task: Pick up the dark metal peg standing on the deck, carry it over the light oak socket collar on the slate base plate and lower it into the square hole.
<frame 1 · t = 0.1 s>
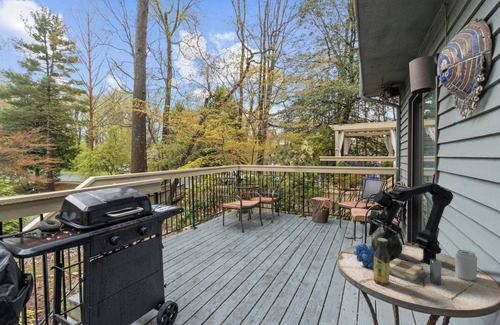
hand: (375, 238, 125), 15 cm above the table, tool tilted 35°, fingers open, 9 cm apart
can: (465, 278, 114), on the table
sauce bottle: (381, 283, 111), on the table
grapes: (365, 267, 126), on the table
squash: (386, 255, 140), on the table
socket: (403, 274, 119), on the table
peg: (435, 282, 110), on the table
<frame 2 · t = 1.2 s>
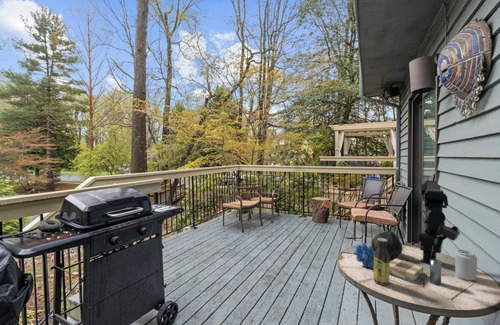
hand: (434, 253, 110), 13 cm above the table, tool pointing down, fingers open, 9 cm apart
nothing on the table moved.
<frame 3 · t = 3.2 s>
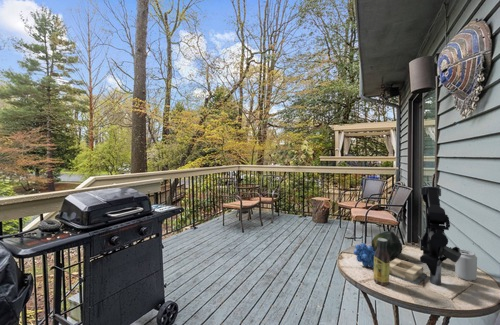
hand: (435, 274, 110), 4 cm above the table, tool pointing down, fingers closed on peg, 4 cm apart
peg: (435, 282, 110), on the table, touching gripper
everything else where it was.
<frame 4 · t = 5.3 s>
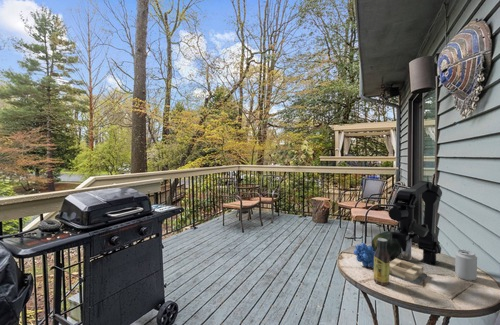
hand: (406, 249, 117), 12 cm above the table, tool pointing down, fingers closed on peg, 4 cm apart
peg: (406, 258, 118), point 8 cm above the table, touching gripper
everything else where it was.
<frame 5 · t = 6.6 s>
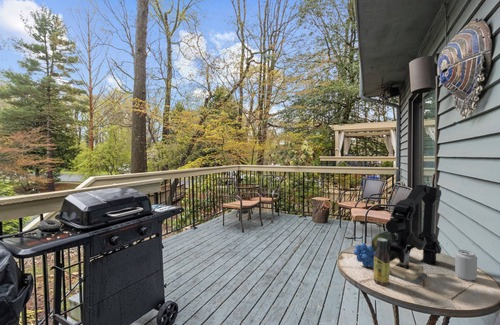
hand: (404, 261, 118), 6 cm above the table, tool pointing down, fingers closed on peg, 4 cm apart
peg: (404, 270, 119), point 2 cm above the table, touching gripper
everything else where it was.
when the fingers open (6 cm above the table, at t = 7.5 s): peg stays where it is, resting on socket.
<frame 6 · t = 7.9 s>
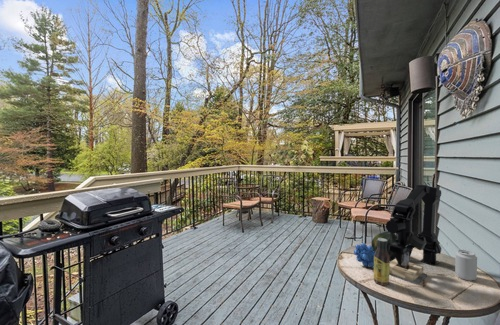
hand: (404, 261, 118), 6 cm above the table, tool pointing down, fingers open, 9 cm apart
peg: (404, 271, 119), point 1 cm above the table, touching socket
everything else where it was.
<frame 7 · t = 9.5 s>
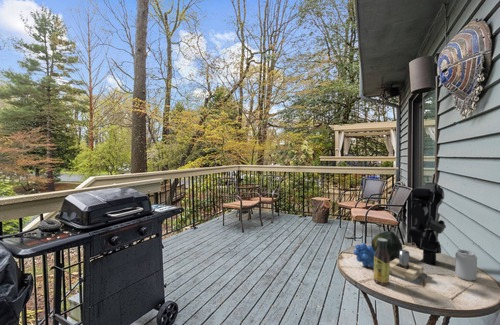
hand: (422, 245, 120), 13 cm above the table, tool pointing down, fingers open, 9 cm apart
nothing on the table moved.
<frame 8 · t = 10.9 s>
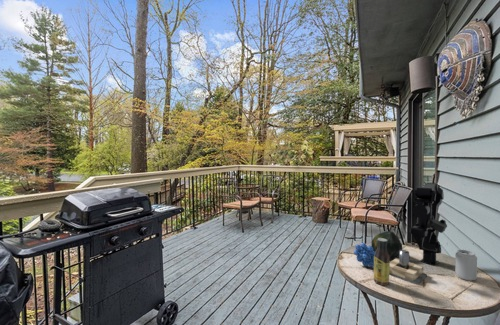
hand: (424, 245, 120), 13 cm above the table, tool pointing down, fingers open, 9 cm apart
nothing on the table moved.
at the end: peg 0.0 cm off-centre on the socket, point 1.0 cm above the socket's base; peg tilted 0°; the gripper is holding nothing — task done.
